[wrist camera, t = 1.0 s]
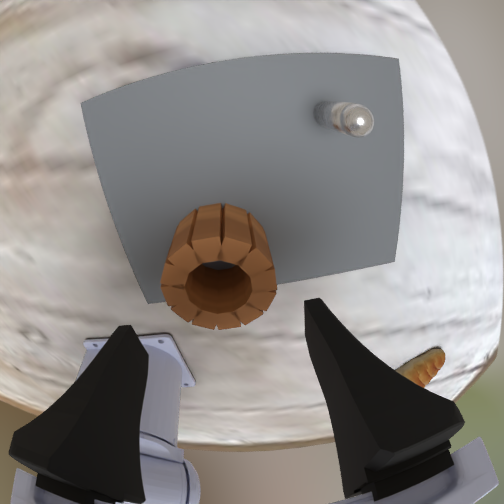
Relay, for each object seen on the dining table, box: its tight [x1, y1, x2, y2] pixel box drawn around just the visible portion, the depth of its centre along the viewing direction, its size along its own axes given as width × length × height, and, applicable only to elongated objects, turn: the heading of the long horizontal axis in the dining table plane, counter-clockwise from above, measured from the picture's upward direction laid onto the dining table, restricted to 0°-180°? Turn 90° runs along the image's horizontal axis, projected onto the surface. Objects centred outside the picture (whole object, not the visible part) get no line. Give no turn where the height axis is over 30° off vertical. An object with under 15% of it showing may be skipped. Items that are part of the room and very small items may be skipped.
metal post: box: [314, 101, 374, 138], centre depth 11 cm, size 2×2×4 cm
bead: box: [160, 203, 277, 330], centre depth 15 cm, size 6×6×4 cm
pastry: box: [395, 349, 445, 388], centre depth 29 cm, size 9×7×4 cm
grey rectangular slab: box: [81, 53, 404, 304], centre depth 16 cm, size 18×14×2 cm
